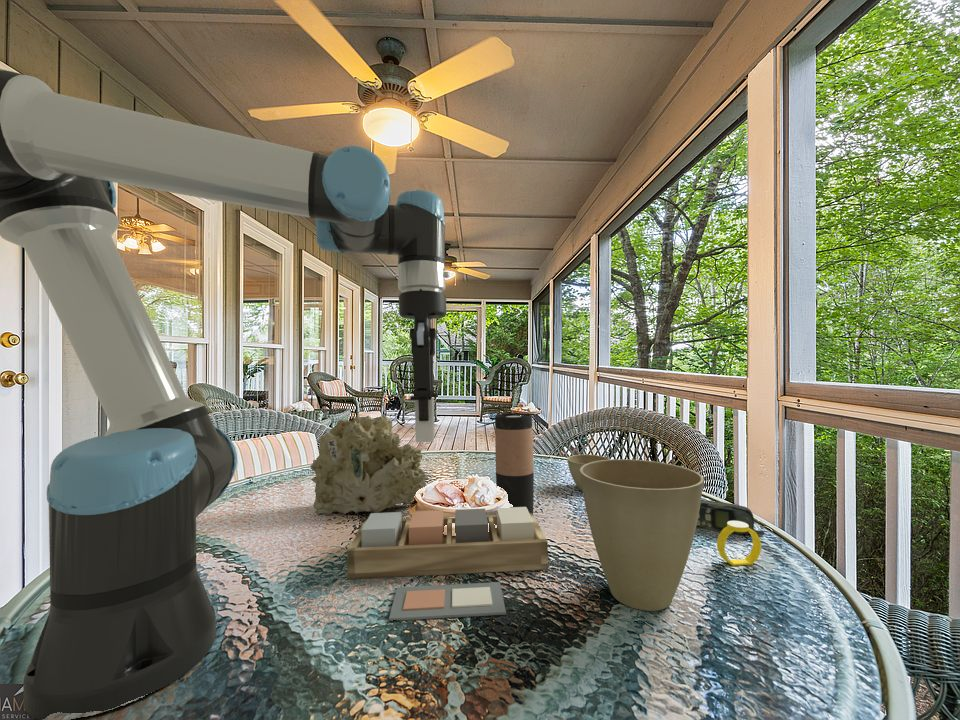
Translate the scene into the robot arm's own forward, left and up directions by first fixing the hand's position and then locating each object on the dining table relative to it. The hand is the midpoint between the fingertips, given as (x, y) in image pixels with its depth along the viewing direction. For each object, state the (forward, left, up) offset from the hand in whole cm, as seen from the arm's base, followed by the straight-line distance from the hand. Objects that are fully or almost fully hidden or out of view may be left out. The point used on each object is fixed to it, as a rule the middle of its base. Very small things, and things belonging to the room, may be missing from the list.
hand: (425, 439), depth 67 cm
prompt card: (-13, -4, -19) cm, 23 cm away
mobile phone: (+6, -51, -19) cm, 55 cm away
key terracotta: (0, 0, -16) cm, 16 cm away
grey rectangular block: (0, -7, -16) cm, 17 cm away
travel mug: (+17, -16, -19) cm, 30 cm away
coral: (+23, +14, -19) cm, 33 cm away
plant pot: (-14, -28, -19) cm, 37 cm away
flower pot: (+32, -36, -19) cm, 52 cm away
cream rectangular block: (0, -14, -16) cm, 21 cm away
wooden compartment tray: (0, -4, -19) cm, 19 cm away
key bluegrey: (0, +7, -16) cm, 17 cm away
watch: (-7, -46, -19) cm, 51 cm away
